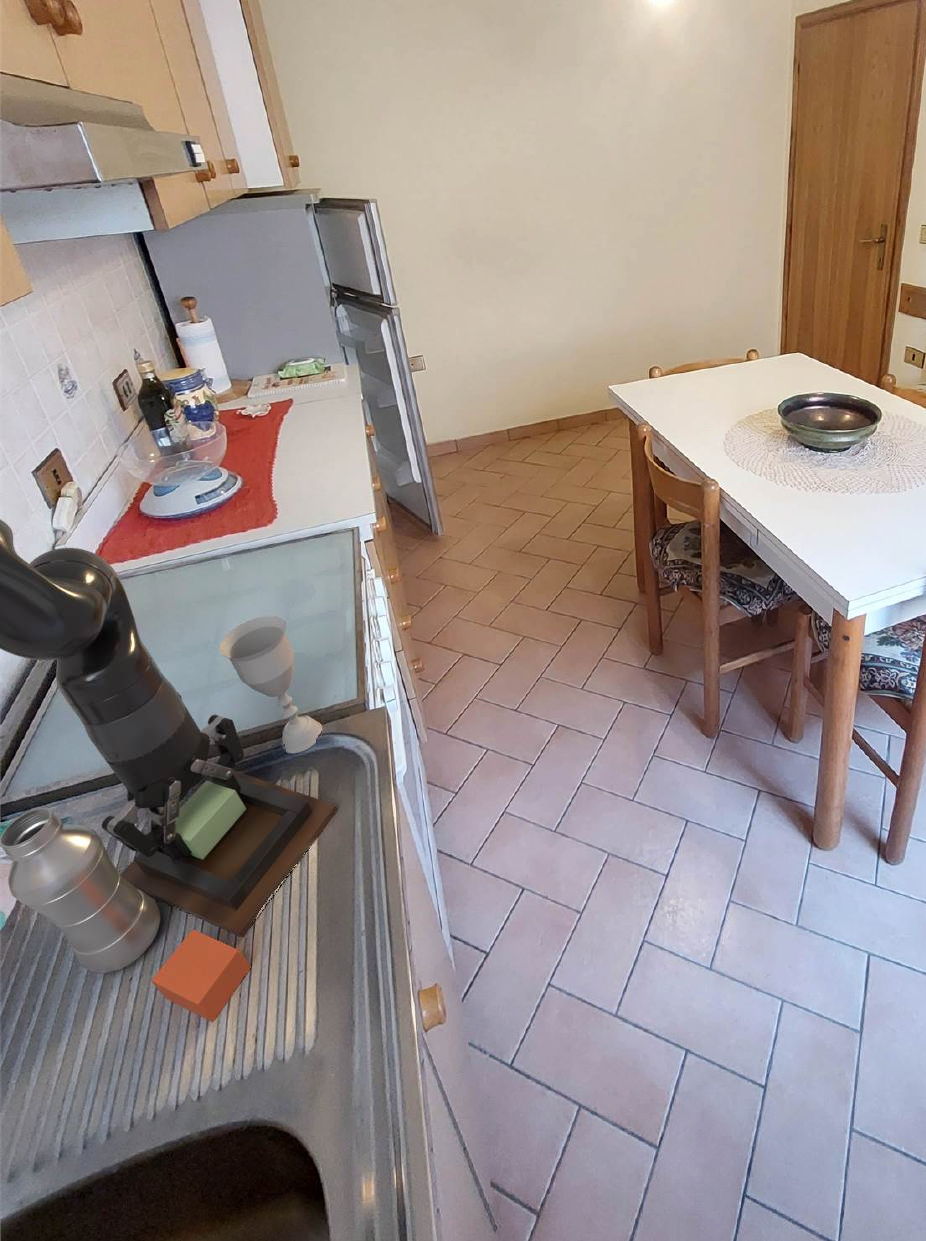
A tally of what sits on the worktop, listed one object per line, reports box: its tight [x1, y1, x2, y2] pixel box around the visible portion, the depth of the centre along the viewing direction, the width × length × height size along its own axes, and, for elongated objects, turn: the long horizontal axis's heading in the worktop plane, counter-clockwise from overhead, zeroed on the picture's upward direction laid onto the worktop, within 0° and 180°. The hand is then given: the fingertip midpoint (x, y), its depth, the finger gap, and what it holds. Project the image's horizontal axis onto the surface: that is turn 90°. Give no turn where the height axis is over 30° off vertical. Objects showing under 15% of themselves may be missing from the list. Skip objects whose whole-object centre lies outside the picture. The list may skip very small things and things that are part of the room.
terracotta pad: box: [150, 929, 252, 1023], centre depth 63 cm, size 6×4×4 cm
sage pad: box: [176, 780, 246, 860], centre depth 75 cm, size 6×4×4 cm
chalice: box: [219, 615, 323, 754], centre depth 84 cm, size 7×7×18 cm
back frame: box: [120, 770, 338, 938], centre depth 75 cm, size 18×14×3 cm
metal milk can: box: [0, 807, 161, 974], centre depth 63 cm, size 6×7×20 cm
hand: (208, 825), depth 75 cm, fingers closed on sage pad, 6 cm apart
